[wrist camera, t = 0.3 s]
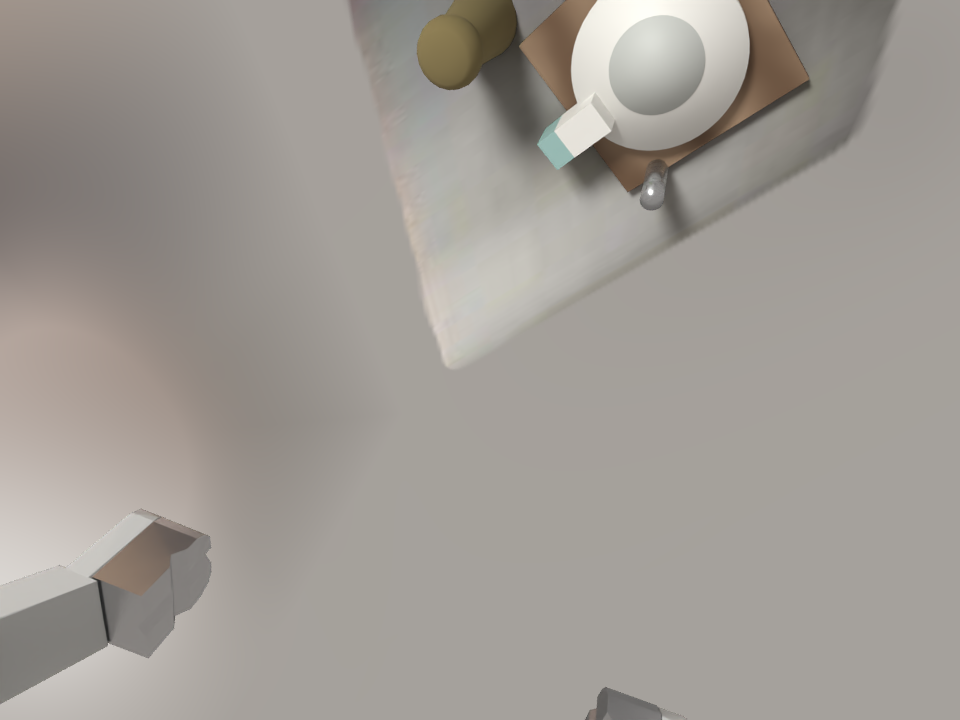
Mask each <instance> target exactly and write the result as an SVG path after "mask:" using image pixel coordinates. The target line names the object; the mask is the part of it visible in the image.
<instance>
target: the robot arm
mask: <svg viewBox="0 0 960 720" xmlns="http://www.w3.org/2000/svg"><path fill="white" fill-rule="evenodd" d="M210 548H211V542H210V536H208V535H206V534H203V533H201V532H198V531H196V530H193V529H191V528H188V527H185V526H183V525H181V524H178V523H175V522H173V521H171V520H168V519H166V518H164V517H161V516H159V515H156V514H153V513H151V512H148V511H146V510H143V509H139V510H137V511H135V512H132V513H130V514H129V515H128V516H127V517H125V518H124V519H123V520H122V521H121V522H119V523H118V524H117V525H116V526H115V527H113V528H112V529H111V530H110V531H109V532H108V533H106V534H105V535H104V536H103V537H102V538H101V539H99V540H98V541H97V542H96V543H95V544H93V545H92V546H91V547H90V548H89V549H87V550H86V551H85V552H84V553H83V554H81V555H80V556H79V557H78V558H77V559H76V560H74V561H73V562H72V563H71V564H70V565H68V566H67V567H63V566H60V565H59V566H56V567H53V568H50V569H47V570H44V571H41V572H38V573H35V574H33V575H30V576H27V577H24V578H21V579H18V580H15V581H12V582H9V583H6V584H4V585H1V586H0V704H1V703H3V702H5V701H7V700H9V699H11V698H12V697H14V696H16V695H18V694H20V693H22V692H23V691H25V690H27V689H29V688H31V687H33V686H35V685H37V684H38V683H40V682H42V681H44V680H46V679H48V678H50V677H51V676H53V675H55V674H57V673H59V672H61V671H62V670H64V669H66V668H68V667H70V666H72V665H74V664H75V663H77V662H79V661H81V660H83V659H85V658H86V657H88V656H90V655H92V654H94V653H96V652H97V651H99V650H101V649H103V648H105V647H107V645H108V643H110V644H112V645H115V646H118V647H120V648H123V649H126V650H128V651H131V652H133V653H136V654H139V655H141V656H144V657H146V658H149V657H150V656H151V655H152V653H153V652H154V651H155V650H156V649H157V647H158V646H159V645H160V644H161V643H162V642H163V640H164V639H165V638H166V637H167V636H168V635H169V634H170V632H171V631H172V630H173V629H174V623H175V622H174V621H175V616H176V615H178V614H180V613H182V612H185V611H187V610H189V609H191V608H192V606H193V605H194V604H195V603H196V602H197V600H198V599H199V598H200V597H201V595H202V593H203V591H204V589H205V588H206V586H207V584H208V582H209V578H210V574H211V562H210V560H209V559H208V557H207V556H206V553H207V552H208V550H209V549H210ZM585 720H687V718H685V717H684V716H681V715H679V714H676V713H673V712H670V711H667V710H665V709H662V708H659V707H657V706H656V705H654V704H651V703H648V702H646V701H643V700H640V699H637V698H634V697H632V696H629V695H626V694H624V693H621V692H618V691H615V690H612V689H610V688H607V687H605V688H603V689H602V690H601V692H600V694H599V695H598V697H597V708H596V709H592V710H590V711H589V713H588V715H587V717H586V719H585Z"/></svg>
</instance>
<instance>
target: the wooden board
mask: <svg viewBox="0 0 960 720" xmlns="http://www.w3.org/2000/svg"><path fill="white" fill-rule="evenodd" d="M596 2H597V0H566V1H565V2H564V3H563V4H562V5H560V6H559V7H558V8H557V9H556V10H555V11H554V12H553V13H552V14H551V15H550V16H549V17H548V18H547V19H546V20H545V21H544V22H543V23H542V24H541V25H540V26H539V27H537V28H536V29H535V30H534V31H533V32H532V33H531V34H530V35H529V36H528V37H527V38H526V39H525V40H524V41H523V42H522V43H521V44H520V45H519V47H520V49H521V50H522V51H523V53H524V54H525V55H526V57H527V58H528V59H529V61H530V62H531V63H532V65H533V66H534V67H535V69H536V70H537V71H538V73H539V74H540V75H541V77H542V78H543V79H544V81H545V82H546V84H547V85H548V86H549V88H550V89H551V90H552V92H553V93H554V94H555V96H556V97H557V98H558V100H559V101H560V102H561V104H562V105H563V106H564V108H565V109H566V110H567V111H568V110H569V109H570V108H572V107H573V106H574V105H576V104H577V101H576V97H575V94H574V91H573V85H572V77H571V63H572V54H573V49H574V45H575V41H576V38H577V35H578V32H579V30H580V28H581V26H582V23H583V22H584V20H585V18H586V17H587V15H588V13H589V11H590V10H591V8H592V7H593V6H594V4H595V3H596ZM739 2H740V4H741V6H742V8H743V11H744V14H745V17H746V20H747V25H748V32H749V40H750V53H749V60H748V67H747V70H746V74H745V78H744V80H743V83H742V85H741V88H740V90H739V92H738V94H737V96H736V98H735V99H734V101H733V103H732V104H731V105H730V107H729V108H728V110H727V111H726V112H725V113H724V115H723V116H722V117H721V118H720V119H719V120H718V121H717V122H716V123H715V124H714V125H713V126H712V127H710V128H709V129H708V130H707V131H705V132H704V133H702V134H701V135H699V136H698V137H696V138H694V139H692V140H691V141H689V142H686V143H684V144H681V145H679V146H675V147H672V148H668V149H662V150H652V151H645V150H635V149H631V148H626V147H624V146H621V145H618V144H616V143H614V142H612V141H610V140H608V139H607V138H605V137H603V138H601V139H600V140H598V141H597V142H596V143H594V144H593V146H594V148H595V149H596V150H597V152H598V153H599V154H600V156H601V157H602V158H603V160H604V161H605V162H606V164H607V165H608V166H609V168H610V169H611V170H612V172H613V173H614V174H615V176H616V177H617V178H618V180H619V181H620V182H621V184H622V185H623V186H624V188H625V189H626V190H627V192H629V191H631V190H632V189H634V188H636V187H637V186H639V185H640V184H642V183H643V182H644V177H645V172H646V167H647V165H648V164H649V163H650V162H651V161H653V160H656V159H660V160H663V161H664V162H666V164H667V166H668V167H669V166H671V165H672V164H674V163H676V162H677V161H679V160H680V159H682V158H684V157H685V156H687V155H688V154H690V153H692V152H693V151H695V150H697V149H698V148H700V147H701V146H703V145H705V144H706V143H708V142H709V141H711V140H713V139H714V138H716V137H717V136H719V135H721V134H722V133H724V132H725V131H727V130H729V129H730V128H732V127H733V126H735V125H737V124H738V123H740V122H741V121H743V120H745V119H746V118H748V117H749V116H751V115H753V114H754V113H756V112H758V111H759V110H761V109H762V108H764V107H766V106H767V105H769V104H770V103H772V102H774V101H775V100H777V99H778V98H780V97H782V96H783V95H785V94H786V93H788V92H790V91H791V90H793V89H794V88H796V87H798V86H799V85H801V84H802V83H804V82H806V81H807V80H809V76H808V74H807V72H806V70H805V68H804V66H803V64H802V63H801V61H800V59H799V57H798V55H797V53H796V51H795V49H794V48H793V46H792V44H791V42H790V40H789V38H788V36H787V35H786V33H785V31H784V29H783V27H782V25H781V23H780V22H779V20H778V18H777V16H776V14H775V12H774V10H773V8H772V7H771V5H770V3H769V1H768V0H739Z"/></svg>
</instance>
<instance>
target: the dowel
mask: <svg viewBox="0 0 960 720" xmlns="http://www.w3.org/2000/svg"><path fill="white" fill-rule="evenodd" d="M667 173H668V166H667V164H666V162H664V161H663V160H660V159H656V160H653V161H651V162H650V163H649V164H648V165H647V167H646V172H645V177H644V182H643V187H642V192H641V197H640V203H641V205H642V207H643V208H645V209H647V210H656V209H658V208H660V207H661V206H662V204H663V201H664V194H665V187H666V180H667Z"/></svg>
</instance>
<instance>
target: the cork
mask: <svg viewBox="0 0 960 720" xmlns="http://www.w3.org/2000/svg"><path fill="white" fill-rule="evenodd" d="M516 26H517V19H516V11H515V8H514V6H513V3H512V0H454V2H453V3H452V5H451V7H450V8H449V10H448V11H447V13H446V14H445V15H440V16H438V17H436V18H434V19H432V20H431V21H429V22H428V24H427V25H426V26H425V27H424V28H423V30H422V32H421V35H420V37H419V40H418V44H417V56H418V61H419V65H420V67H421V69H422V71H423V73H424V75H425V76H426V77H427V78H428V79H429V80H430V82H432V83H433V84H435V85H436V86H438V87H439V88H443V89H446V90H456V89H460V88H463V87H465V86H467V85H469V84H470V83H471V82H472V81H473V80H474V79H475V78H476V76H477V75H478V73H479V71H480V69H481V67H482V64H484V63H486V62H487V61H489V60H491V59H493V58H494V57H496V56H498V55H500V54H501V53H503V52H504V51H505V50H506V49H507V48H508V47H509V46H510V44H511V42H512V40H513V38H514V36H515V32H516Z"/></svg>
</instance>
